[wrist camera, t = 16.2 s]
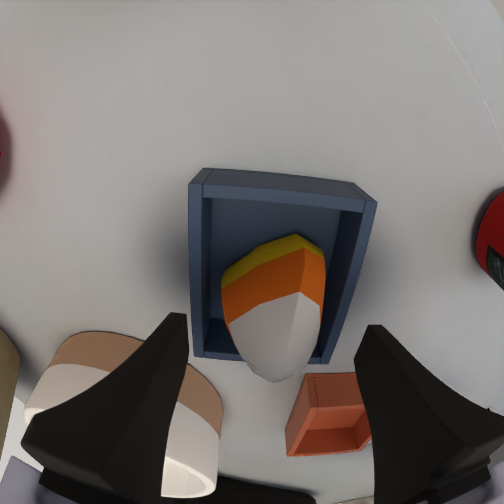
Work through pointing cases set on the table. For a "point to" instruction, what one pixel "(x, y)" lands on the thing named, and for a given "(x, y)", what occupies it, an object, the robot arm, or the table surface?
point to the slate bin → (266, 230)
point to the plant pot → (7, 382)
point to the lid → (360, 501)
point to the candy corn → (275, 305)
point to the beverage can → (492, 241)
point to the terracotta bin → (327, 417)
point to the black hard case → (244, 495)
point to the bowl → (183, 420)
